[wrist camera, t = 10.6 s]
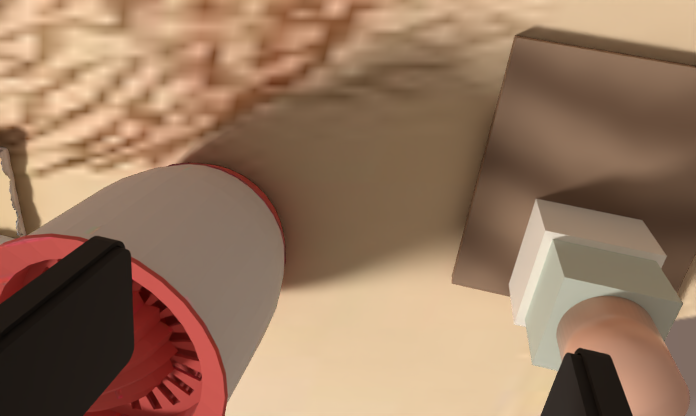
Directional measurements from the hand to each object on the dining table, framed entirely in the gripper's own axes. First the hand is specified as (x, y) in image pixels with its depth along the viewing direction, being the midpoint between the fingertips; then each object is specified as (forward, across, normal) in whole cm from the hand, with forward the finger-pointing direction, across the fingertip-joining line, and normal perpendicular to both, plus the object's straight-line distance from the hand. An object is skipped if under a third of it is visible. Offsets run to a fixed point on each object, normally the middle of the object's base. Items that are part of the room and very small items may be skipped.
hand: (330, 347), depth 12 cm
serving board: (+28, -12, +5) cm, 31 cm away
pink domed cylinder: (+18, -13, +9) cm, 24 cm away
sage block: (+22, -12, +9) cm, 27 cm away
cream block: (+27, -12, +10) cm, 31 cm away
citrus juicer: (+28, +15, +15) cm, 36 cm away
